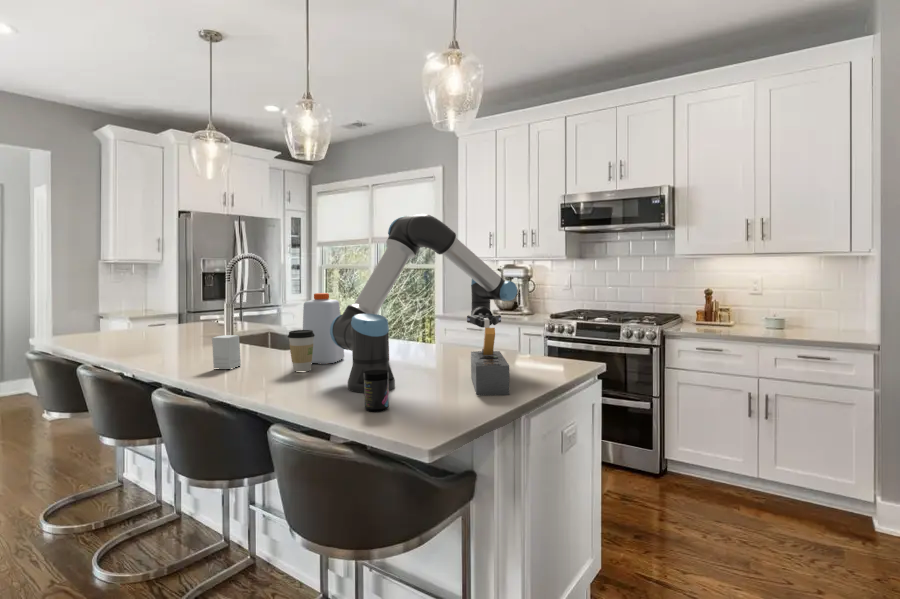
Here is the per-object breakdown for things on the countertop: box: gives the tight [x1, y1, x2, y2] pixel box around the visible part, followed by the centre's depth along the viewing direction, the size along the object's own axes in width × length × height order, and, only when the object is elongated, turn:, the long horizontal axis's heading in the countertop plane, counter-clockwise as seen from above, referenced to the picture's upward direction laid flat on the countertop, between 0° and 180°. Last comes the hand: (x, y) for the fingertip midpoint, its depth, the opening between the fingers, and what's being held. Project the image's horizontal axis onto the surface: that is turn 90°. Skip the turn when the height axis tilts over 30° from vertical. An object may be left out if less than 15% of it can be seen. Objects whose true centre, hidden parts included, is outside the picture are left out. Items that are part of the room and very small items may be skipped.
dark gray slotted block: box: [470, 350, 510, 396], centre depth 183 cm, size 40×10×9 cm, turn 1°
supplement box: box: [211, 334, 242, 369], centre depth 211 cm, size 7×7×13 cm
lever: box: [481, 327, 496, 355], centre depth 174 cm, size 2×4×13 cm
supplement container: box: [363, 370, 390, 413], centre depth 149 cm, size 7×7×10 cm
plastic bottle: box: [302, 292, 345, 365], centre depth 223 cm, size 15×15×28 cm
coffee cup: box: [287, 329, 315, 372], centre depth 204 cm, size 10×10×15 cm
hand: (487, 324), depth 185 cm, fingers closed
